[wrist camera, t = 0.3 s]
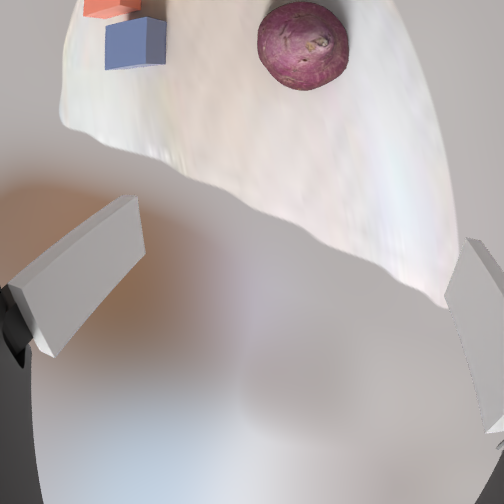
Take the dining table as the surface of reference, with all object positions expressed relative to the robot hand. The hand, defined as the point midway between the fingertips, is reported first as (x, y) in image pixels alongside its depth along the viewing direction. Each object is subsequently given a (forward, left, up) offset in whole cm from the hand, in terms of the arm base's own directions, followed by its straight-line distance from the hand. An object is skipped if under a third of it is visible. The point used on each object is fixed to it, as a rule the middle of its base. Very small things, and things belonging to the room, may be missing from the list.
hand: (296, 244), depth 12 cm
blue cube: (-11, -22, -27) cm, 37 cm away
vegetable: (-10, -2, -27) cm, 29 cm away
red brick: (-20, -26, -27) cm, 43 cm away
